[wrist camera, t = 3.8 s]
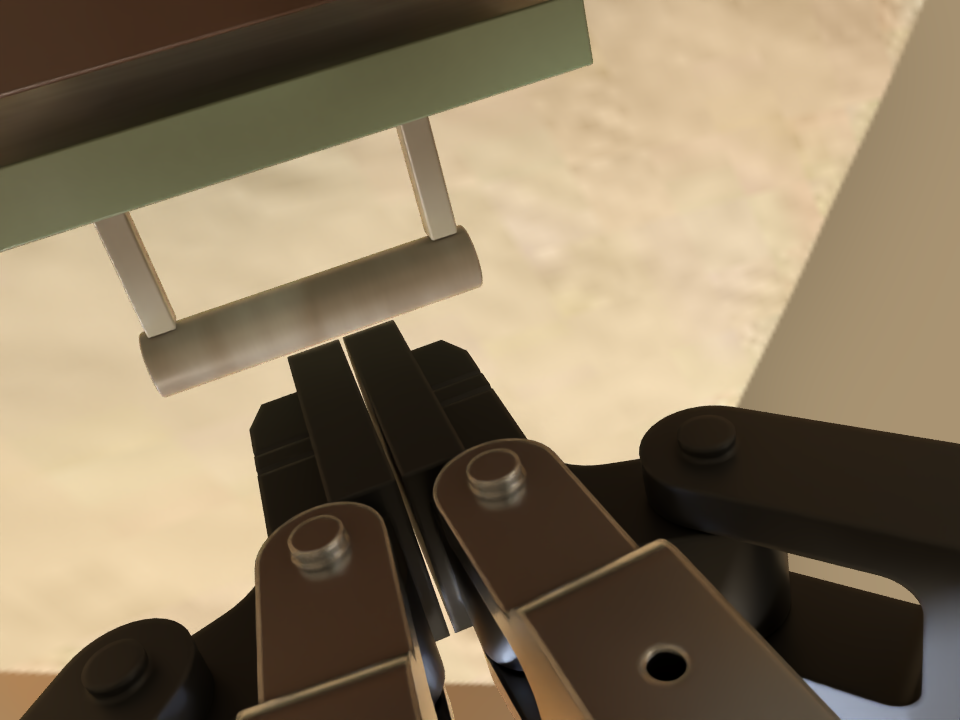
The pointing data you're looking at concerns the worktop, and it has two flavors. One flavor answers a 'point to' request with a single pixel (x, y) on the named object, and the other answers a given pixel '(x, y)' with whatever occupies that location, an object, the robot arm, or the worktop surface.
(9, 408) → the worktop surface
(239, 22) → the cabinet
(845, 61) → the worktop surface
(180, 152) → the drawer
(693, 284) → the worktop surface
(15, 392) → the worktop surface
